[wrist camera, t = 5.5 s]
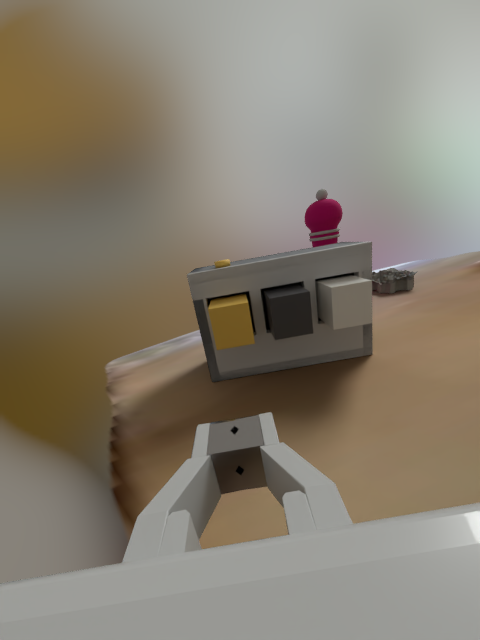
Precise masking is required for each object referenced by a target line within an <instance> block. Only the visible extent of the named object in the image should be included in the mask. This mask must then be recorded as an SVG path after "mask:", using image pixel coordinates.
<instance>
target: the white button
mask: <svg viewBox="0 0 480 640" xmlns="http://www.w3.org/2000/svg"><path fill="white" fill-rule="evenodd" d="M316 290H317V304H318V317H319V318H320V319H321V320H322V321H324V322H325V323H326V324H327V325H328V326H330V327H331V328H332V329H333V330H336V329H341V328H347V327H353V326H358V325H364V324H370V323H372V280H368V279H364V278H361V277H357V276H353V275H347V276H341V277H335V278H330V279H324V280H319V281H316Z"/></svg>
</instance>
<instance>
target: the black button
mask: <svg viewBox="0 0 480 640" xmlns="http://www.w3.org/2000/svg"><path fill="white" fill-rule="evenodd" d="M263 291H264V298H265V305H266V312H267V319H268V326H269V328H270V330H271V332H272V335H273V337H274V339H275V340H279V339H284V338H290V337H296V336H301V335H307V334H313V322H312V311H311V299H310V291H308V290H307V289H305V288H303V287H302V286H300V285H298V284H296V285H290V286H285V287H279V288H273V289H268V290H263Z"/></svg>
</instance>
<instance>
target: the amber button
mask: <svg viewBox="0 0 480 640" xmlns="http://www.w3.org/2000/svg"><path fill="white" fill-rule="evenodd" d="M208 312H209V316H210V321H211V325H212V330H213V335H214V339H215V344H216V348H217V350H221V349H227V348H233V347H239V346H244V345H250V344H255V340H254V334H253V328H252V322H251V316H250V310H249V304H248V300H247V297H246V294H240V295H234V296H228V297H223V298H217V299H212V300H211V302H210V305H209V308H208Z"/></svg>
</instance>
